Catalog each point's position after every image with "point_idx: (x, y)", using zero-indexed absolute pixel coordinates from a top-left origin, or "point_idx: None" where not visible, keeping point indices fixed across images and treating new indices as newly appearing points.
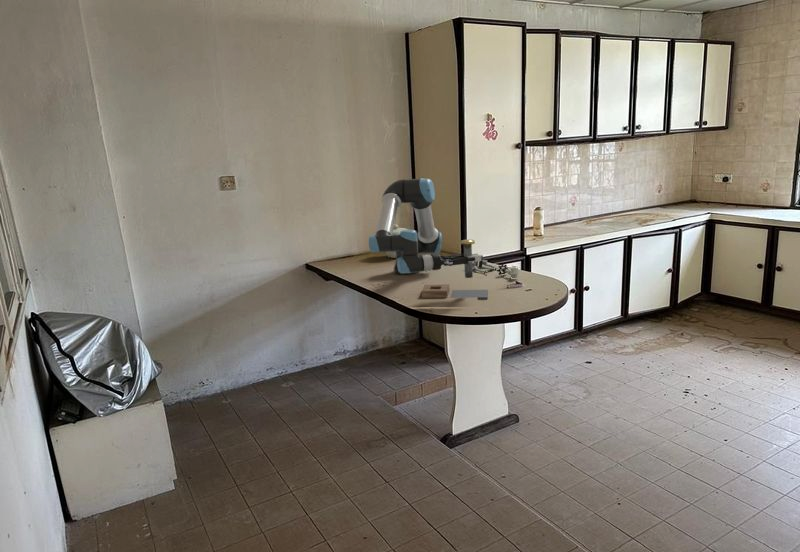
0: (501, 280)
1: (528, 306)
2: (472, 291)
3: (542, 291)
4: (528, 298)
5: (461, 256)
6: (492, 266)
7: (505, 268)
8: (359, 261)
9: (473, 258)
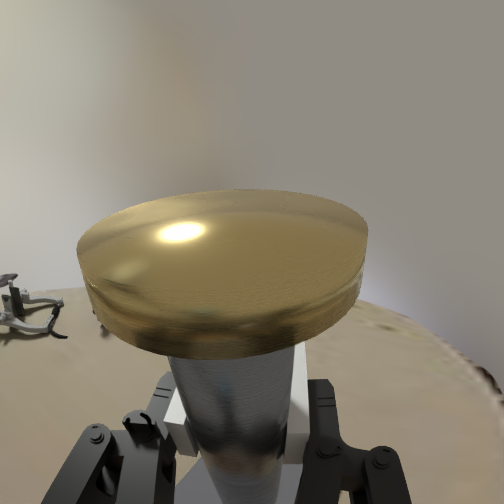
0: None
1: (447, 374)
2: (213, 487)
3: None
4: (370, 357)
5: (150, 456)
6: (46, 299)
7: None
8: None
9: (333, 398)
